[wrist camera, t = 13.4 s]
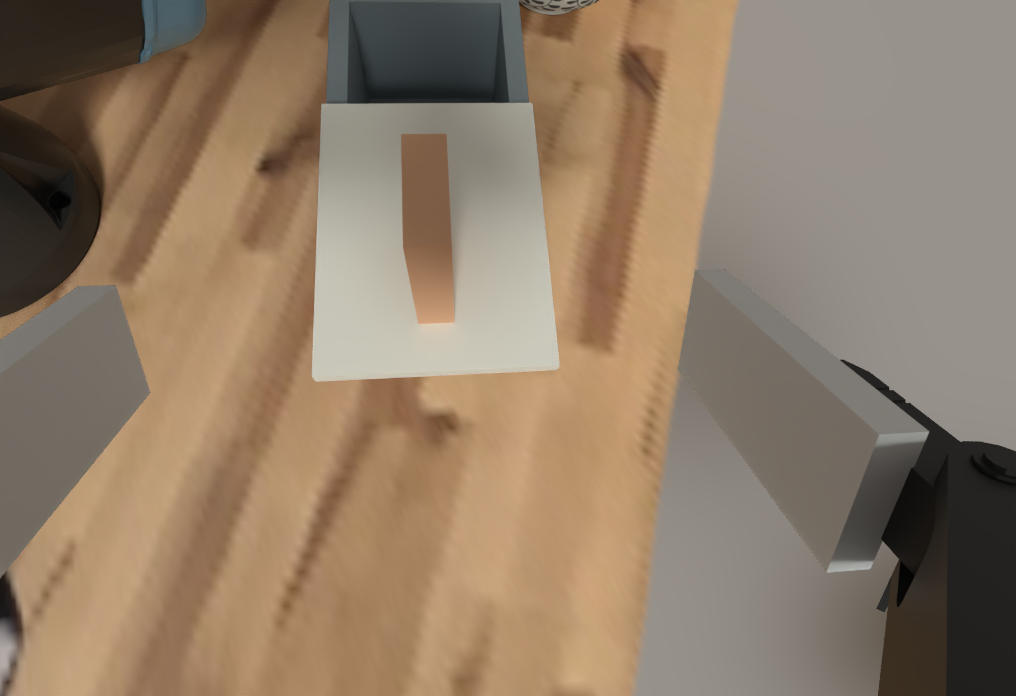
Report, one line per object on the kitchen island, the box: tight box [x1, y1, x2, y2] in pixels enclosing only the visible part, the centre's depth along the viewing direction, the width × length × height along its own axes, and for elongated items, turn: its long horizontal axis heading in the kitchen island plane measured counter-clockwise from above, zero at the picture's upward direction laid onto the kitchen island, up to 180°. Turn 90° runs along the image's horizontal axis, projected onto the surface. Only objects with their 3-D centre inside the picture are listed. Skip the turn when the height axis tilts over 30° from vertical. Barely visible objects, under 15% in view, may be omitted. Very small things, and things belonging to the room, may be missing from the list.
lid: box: [312, 103, 560, 382], centre depth 27 cm, size 16×12×9 cm
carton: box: [326, 0, 529, 104], centre depth 40 cm, size 16×12×10 cm
